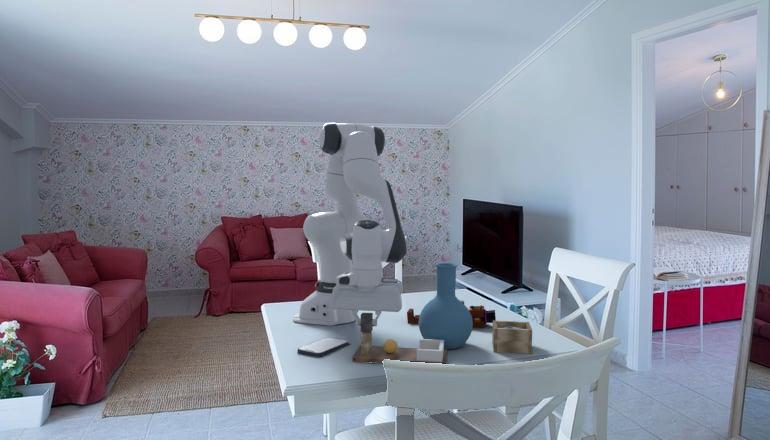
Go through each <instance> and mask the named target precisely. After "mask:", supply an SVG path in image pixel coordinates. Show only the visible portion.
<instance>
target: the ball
mask: <svg viewBox="0 0 770 440" xmlns="http://www.w3.org/2000/svg"><path fill="white" fill-rule="evenodd" d="M383 347H384V350H385V351H386V352H387V353H394V352H395V351H396V350H397V347H399V345H398V343H397V341H396V340H394V339H392V338H389V339H387V340H385V341H384V343H383Z"/></svg>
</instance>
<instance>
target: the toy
mask: <svg viewBox="0 0 770 440" xmlns="http://www.w3.org/2000/svg"><path fill="white" fill-rule="evenodd" d="M460 301H461V302H462V303H463V304H464V305H465V300H460ZM467 308H468V310H469V312H470V314H471V317H472V322H473V326H472V329H485V327H486V325H487V324H493V320H494V321H497V319H496V309H491V310H490V309H489V310H486V309H485V305H475V306H474V305H470V306H468V307H467ZM419 316H420V314H415V312H414V308H409V309H408V310H407V311H406V318H407V319H406V320H407V324H415V325H416V324H419Z"/></svg>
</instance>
